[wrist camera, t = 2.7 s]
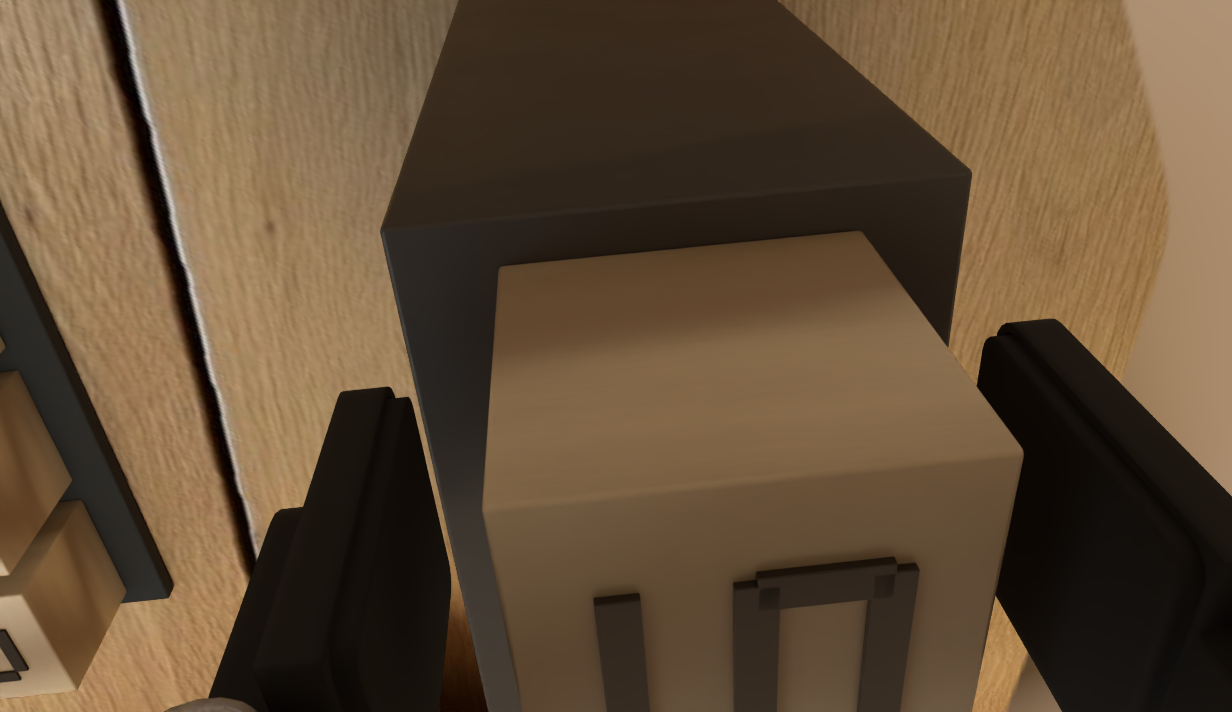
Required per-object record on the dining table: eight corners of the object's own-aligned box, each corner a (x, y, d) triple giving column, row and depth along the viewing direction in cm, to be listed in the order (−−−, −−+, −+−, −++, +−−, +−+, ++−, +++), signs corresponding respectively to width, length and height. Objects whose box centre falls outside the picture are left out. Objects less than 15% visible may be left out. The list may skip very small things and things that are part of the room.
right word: (464, -20, 24) (293, 475, 7) (729, -44, 24) (1214, 378, 7) (552, 567, 35) (571, 1321, 18) (733, 547, 36) (925, 1275, 18)
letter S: (497, 264, 11) (480, 518, 7) (861, 228, 11) (1033, 459, 7) (540, 538, 13) (543, 840, 10) (841, 505, 13) (963, 791, 10)
